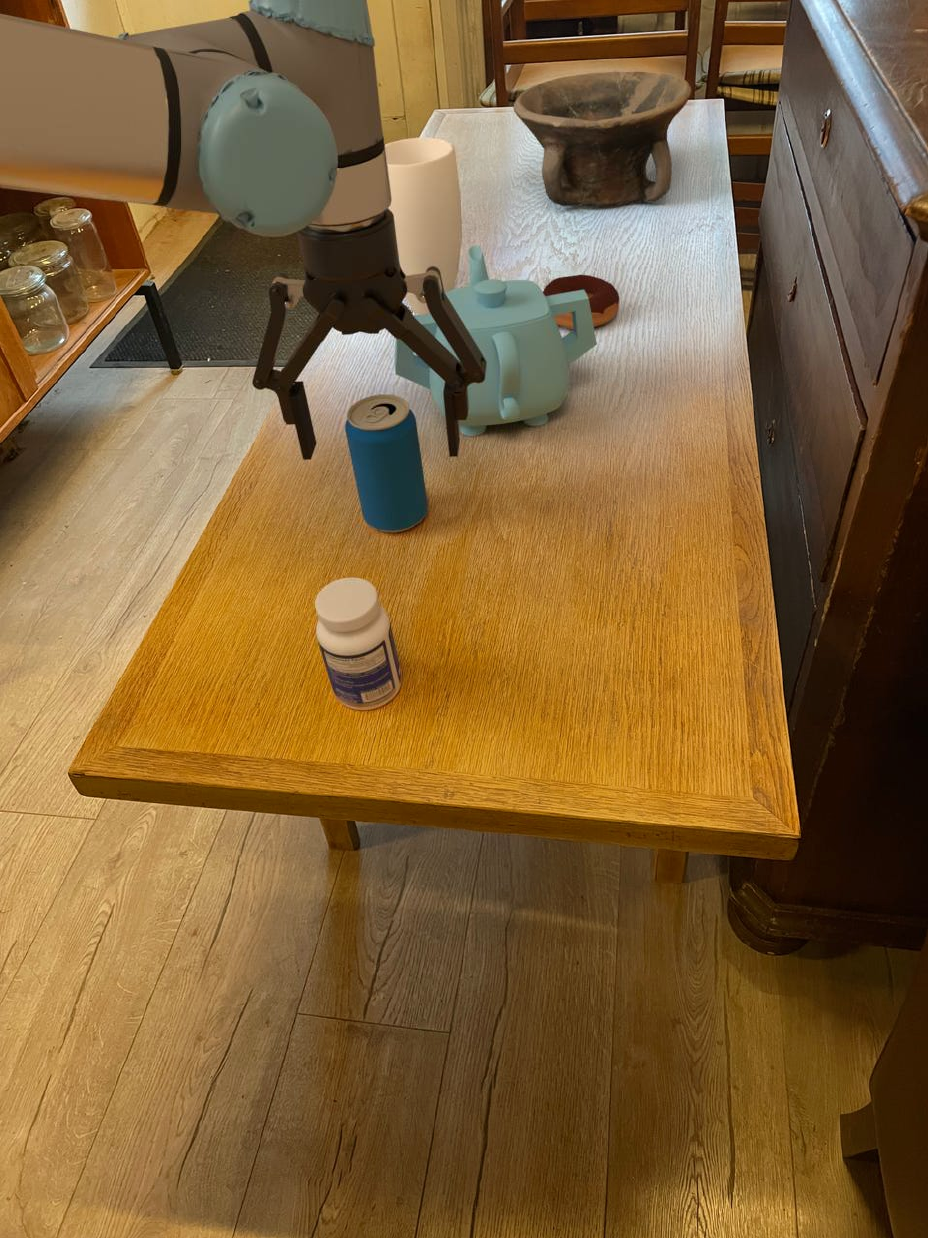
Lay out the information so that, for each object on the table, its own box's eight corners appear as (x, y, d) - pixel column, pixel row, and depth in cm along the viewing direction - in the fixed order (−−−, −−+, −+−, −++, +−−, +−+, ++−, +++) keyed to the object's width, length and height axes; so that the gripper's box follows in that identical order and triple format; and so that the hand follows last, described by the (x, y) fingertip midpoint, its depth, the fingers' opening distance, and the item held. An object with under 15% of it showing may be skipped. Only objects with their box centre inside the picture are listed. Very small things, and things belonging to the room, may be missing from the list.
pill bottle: (349, 654, 75) (327, 566, 68) (412, 666, 73) (396, 577, 66) (321, 706, 71) (294, 618, 64) (387, 719, 70) (367, 631, 63)
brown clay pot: (527, 167, 156) (524, 69, 145) (682, 162, 151) (690, 61, 140) (507, 228, 137) (501, 121, 127) (683, 224, 132) (692, 113, 122)
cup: (489, 327, 114) (477, 147, 99) (425, 357, 110) (402, 174, 95) (440, 303, 121) (422, 129, 106) (377, 330, 117) (349, 154, 101)
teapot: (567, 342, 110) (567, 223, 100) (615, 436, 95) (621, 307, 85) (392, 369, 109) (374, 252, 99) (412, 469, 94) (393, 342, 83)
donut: (628, 327, 112) (629, 296, 109) (551, 339, 111) (551, 308, 108) (606, 293, 119) (607, 263, 116) (534, 304, 118) (533, 274, 115)
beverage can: (441, 507, 88) (427, 401, 80) (404, 544, 85) (386, 437, 76) (388, 490, 91) (370, 385, 83) (351, 526, 88) (327, 420, 79)
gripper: (509, 187, 69) (517, 424, 84) (199, 203, 71) (260, 430, 86) (505, 224, 64) (515, 470, 78) (171, 240, 66) (241, 476, 81)
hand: (381, 450), depth 82 cm, fingers open, 13 cm apart
